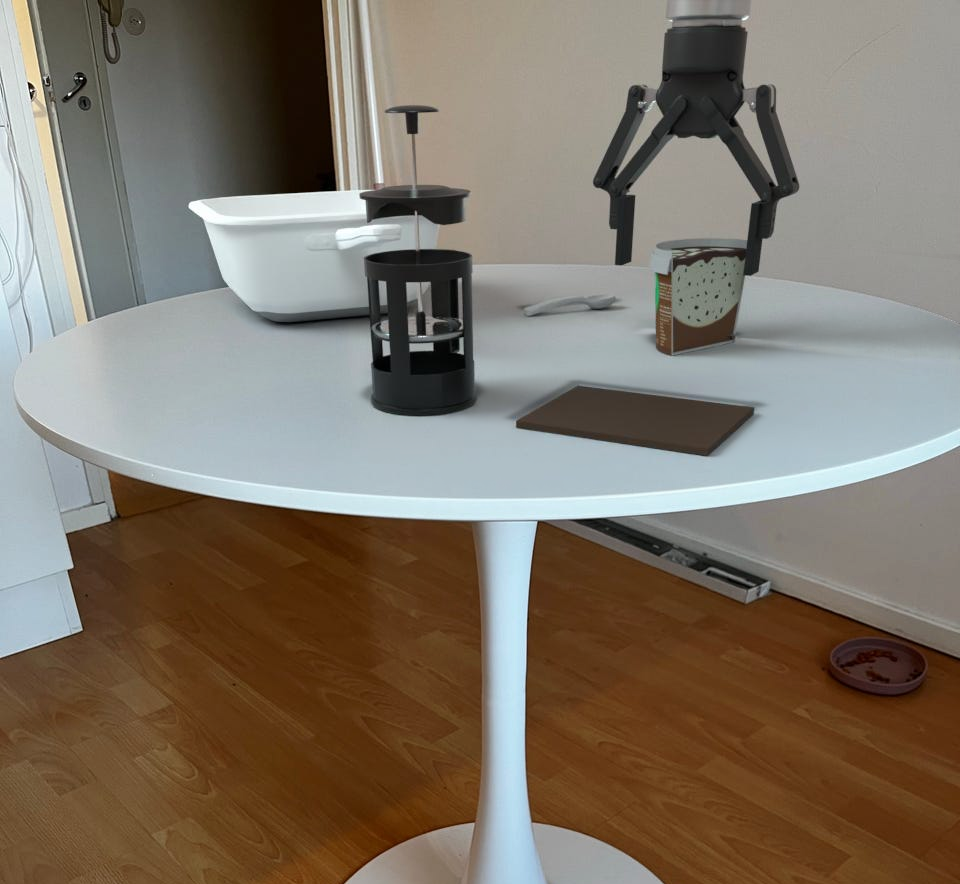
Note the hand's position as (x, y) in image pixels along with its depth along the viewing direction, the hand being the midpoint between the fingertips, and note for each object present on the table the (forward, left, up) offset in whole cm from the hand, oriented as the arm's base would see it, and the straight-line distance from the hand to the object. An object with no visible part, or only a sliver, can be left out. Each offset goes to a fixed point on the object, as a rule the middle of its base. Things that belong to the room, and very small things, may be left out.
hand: (685, 268), depth 103 cm
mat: (-6, +28, -8) cm, 30 cm away
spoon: (+18, -11, -8) cm, 22 cm away
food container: (0, 0, -8) cm, 8 cm away
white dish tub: (+40, +5, -8) cm, 41 cm away
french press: (+13, +30, -8) cm, 34 cm away
